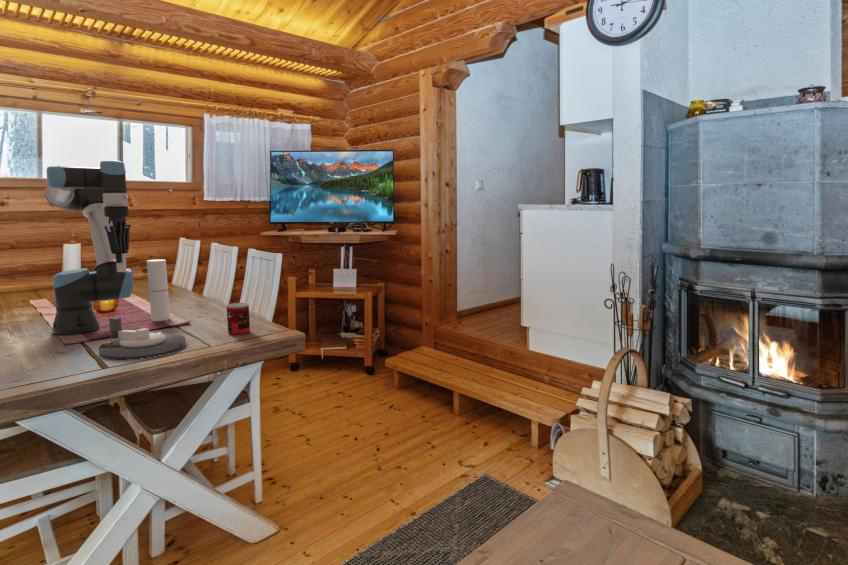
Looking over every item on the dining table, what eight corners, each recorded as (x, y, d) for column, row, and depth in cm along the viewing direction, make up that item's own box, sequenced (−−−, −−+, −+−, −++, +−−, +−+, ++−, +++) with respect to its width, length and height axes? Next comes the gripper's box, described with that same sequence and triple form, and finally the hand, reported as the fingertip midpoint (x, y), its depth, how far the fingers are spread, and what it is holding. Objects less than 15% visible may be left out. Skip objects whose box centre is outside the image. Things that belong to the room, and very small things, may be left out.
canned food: (231, 330, 205) (229, 302, 203) (252, 330, 206) (250, 302, 204) (225, 335, 198) (223, 306, 196) (247, 335, 198) (246, 306, 197)
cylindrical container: (162, 321, 220) (158, 261, 216) (147, 320, 221) (142, 261, 217) (174, 317, 227) (169, 259, 223) (159, 317, 228) (154, 259, 224)
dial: (174, 337, 186) (173, 316, 185) (148, 348, 173) (146, 325, 172) (126, 335, 189) (124, 314, 188) (96, 345, 176) (94, 323, 175)
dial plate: (82, 360, 168) (81, 353, 167) (125, 338, 193) (124, 332, 193) (165, 359, 169) (165, 352, 168) (197, 338, 194) (196, 331, 194)
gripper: (116, 205, 182) (123, 274, 185) (136, 205, 194) (141, 269, 198) (94, 205, 181) (101, 274, 185) (115, 205, 194) (120, 269, 198)
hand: (121, 271), depth 192 cm, fingers closed
